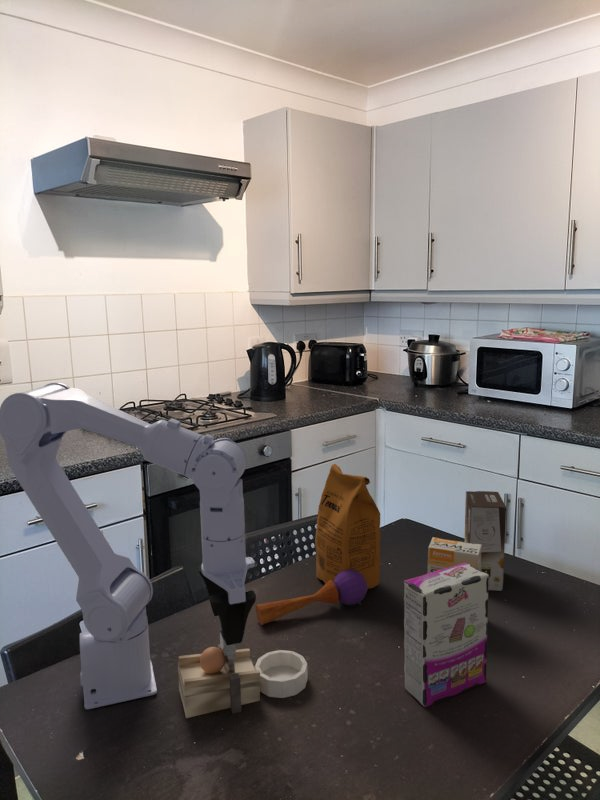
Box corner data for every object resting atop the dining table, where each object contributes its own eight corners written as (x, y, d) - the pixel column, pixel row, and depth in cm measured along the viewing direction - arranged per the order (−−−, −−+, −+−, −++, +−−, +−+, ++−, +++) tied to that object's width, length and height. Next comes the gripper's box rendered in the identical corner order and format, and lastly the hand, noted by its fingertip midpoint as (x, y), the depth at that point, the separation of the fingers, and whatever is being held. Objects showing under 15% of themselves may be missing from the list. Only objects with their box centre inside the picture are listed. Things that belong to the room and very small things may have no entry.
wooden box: (187, 724, 79) (185, 688, 78) (177, 685, 87) (175, 651, 86) (263, 706, 83) (262, 670, 82) (247, 669, 91) (246, 636, 90)
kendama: (250, 593, 105) (354, 562, 112) (256, 627, 105) (359, 594, 113) (261, 602, 100) (369, 569, 107) (267, 638, 100) (375, 603, 107)
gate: (226, 677, 83) (224, 643, 82) (219, 660, 86) (218, 627, 85) (237, 674, 83) (236, 640, 82) (231, 657, 87) (229, 625, 86)
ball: (201, 680, 82) (203, 656, 81) (196, 665, 85) (198, 642, 84) (226, 677, 83) (228, 654, 82) (221, 663, 86) (223, 640, 86)
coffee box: (504, 591, 112) (507, 507, 109) (467, 590, 113) (470, 506, 110) (495, 569, 121) (498, 490, 118) (462, 567, 122) (464, 490, 119)
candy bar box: (462, 664, 91) (466, 560, 88) (487, 683, 86) (491, 574, 84) (400, 688, 86) (402, 578, 83) (423, 709, 81) (426, 594, 78)
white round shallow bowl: (264, 702, 83) (263, 685, 83) (250, 671, 90) (249, 656, 90) (314, 690, 86) (313, 674, 85) (297, 661, 92) (296, 646, 92)
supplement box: (425, 620, 103) (426, 547, 101) (430, 606, 107) (431, 535, 105) (476, 630, 100) (478, 554, 98) (479, 615, 104) (482, 542, 102)
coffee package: (352, 564, 124) (351, 458, 120) (387, 589, 113) (387, 474, 109) (308, 574, 120) (306, 465, 116) (340, 602, 109) (339, 482, 105)
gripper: (267, 549, 76) (270, 650, 78) (239, 510, 89) (242, 597, 92) (211, 558, 73) (215, 662, 76) (190, 517, 87) (195, 606, 89)
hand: (227, 627), depth 84 cm, fingers open, 7 cm apart
